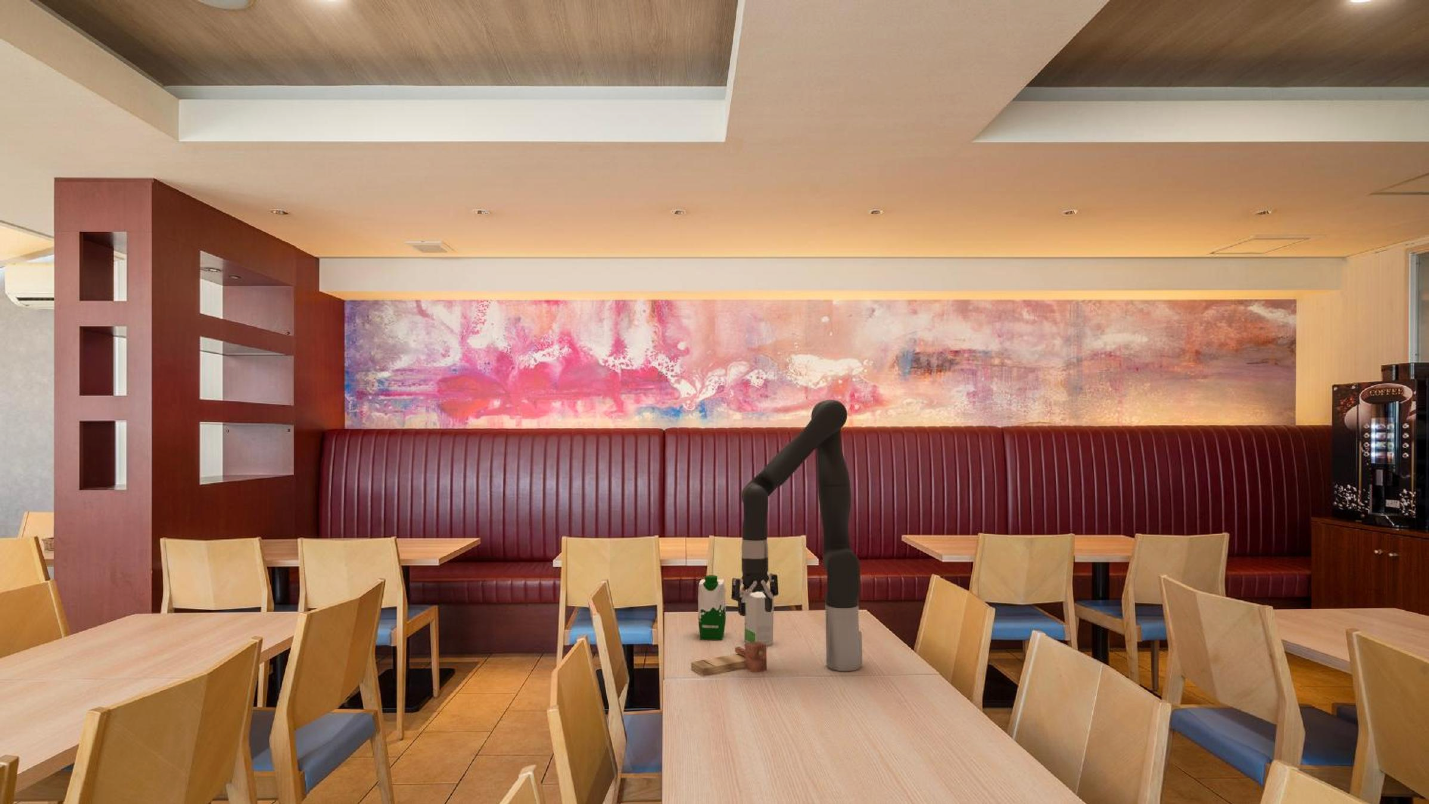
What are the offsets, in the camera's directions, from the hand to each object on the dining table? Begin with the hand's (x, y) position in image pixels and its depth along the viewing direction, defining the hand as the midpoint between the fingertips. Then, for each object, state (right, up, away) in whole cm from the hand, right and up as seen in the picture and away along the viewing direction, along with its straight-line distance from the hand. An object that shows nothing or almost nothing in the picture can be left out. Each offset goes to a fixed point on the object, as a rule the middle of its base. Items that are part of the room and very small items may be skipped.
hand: (755, 613), depth 207 cm
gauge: (-2, -16, +2) cm, 16 cm away
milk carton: (-12, -17, +33) cm, 39 cm away
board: (-8, -16, +1) cm, 18 cm away
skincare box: (+3, -17, +25) cm, 30 cm away
